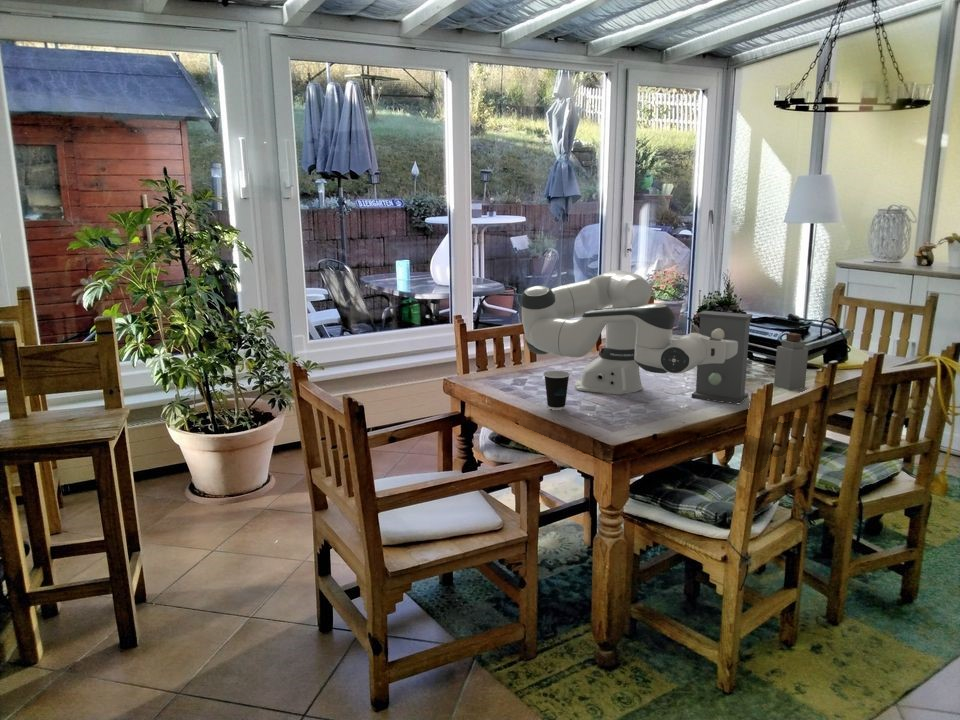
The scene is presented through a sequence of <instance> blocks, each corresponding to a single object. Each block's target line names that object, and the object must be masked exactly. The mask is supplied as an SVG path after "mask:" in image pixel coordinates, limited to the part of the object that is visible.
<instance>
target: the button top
mask: <svg viewBox="0 0 960 720" xmlns="http://www.w3.org/2000/svg"><path fill="white" fill-rule="evenodd" d="M711 337H712V338H715V339H723V338H724V337H725V332H724V331H723V330H722V329H720V328H718V329H715V330H714V331H712V333H711Z"/></svg>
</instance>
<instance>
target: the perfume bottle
mask: <svg viewBox="0 0 960 720" xmlns="http://www.w3.org/2000/svg"><path fill="white" fill-rule="evenodd" d="M785 336H786V339H780V342H781V345H778V346H776V355H775V356H776V357H775V369H774V379H773V386H774V385H775V387H778V388H780V389H784V390H787V391H794V390H795V391H796V390H801V389H800V388H802V389H805V388H806V381H807V380H806V377H807V367H808V357H809V348H808V347H805V345H806V341H804V340H801V338H802V334H801V333H796V332H789V333H786V335H785Z"/></svg>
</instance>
